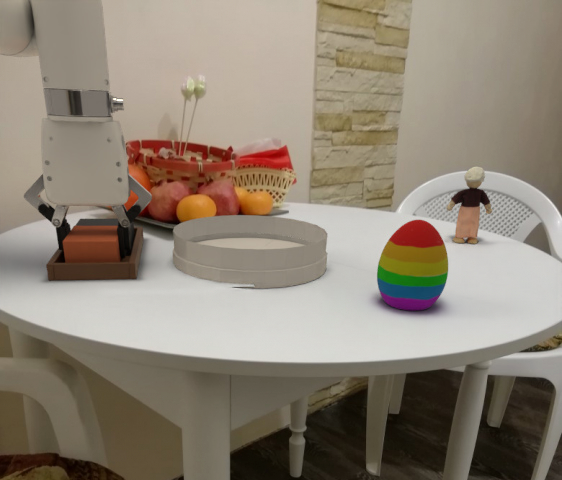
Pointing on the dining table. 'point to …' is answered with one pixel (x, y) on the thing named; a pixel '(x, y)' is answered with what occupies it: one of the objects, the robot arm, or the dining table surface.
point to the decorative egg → (413, 267)
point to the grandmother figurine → (470, 206)
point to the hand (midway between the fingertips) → (96, 254)
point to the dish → (251, 250)
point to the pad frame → (97, 265)
